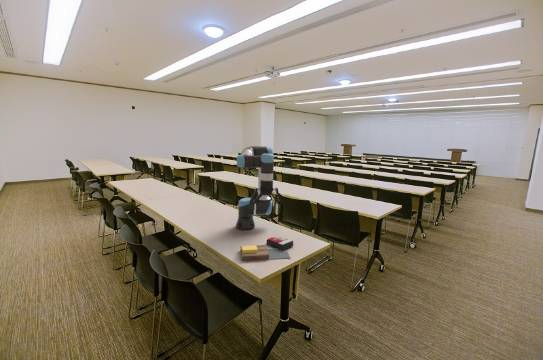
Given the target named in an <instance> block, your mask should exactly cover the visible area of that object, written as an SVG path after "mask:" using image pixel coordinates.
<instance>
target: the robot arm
mask: <svg viewBox="0 0 543 360" xmlns="http://www.w3.org/2000/svg"><path fill="white" fill-rule="evenodd" d="M274 165H275V155H274V150H273V148H272V146H268V145H267V146H262V145H261V146H258V145H257V146H256V145H255V146H254V145H252V146H247V147H245V148H243V149H242V150H241V151H240V154H238V155H237V156H236V166H237V167H238V168H242V169H243V168H254V169H255V168H258V178H257V179H258V183H257V186H258V187H255V188H254V192H253V193H252V196H251V197H244V198H241V199H240V200H238V205H237V206H238V212H237V213H238V215H237V216H238V217H237V221H236V223H235V228H236V229H238V230H241V231H251V230H253V229H255V228H256V223H255V220H254V216H256V215H257V216H258V215H259V216H268V215H270V214H271V213H272V208H273V200H275V202H276V203H275V214H276V215H278V214H279V209H280V207H281V204H282V203H284V201H283V198H282V197H281V194H280V193H279V188H278V187H274ZM273 192H275V193H276V195H277V197H276V196H275V195H274V193H273ZM270 196H271V197H272V198H273V200H272V199H271V197H270ZM255 197H256V198H255Z"/></svg>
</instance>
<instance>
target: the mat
mask: <svg viewBox="0 0 543 360" xmlns="http://www.w3.org/2000/svg"><path fill="white" fill-rule="evenodd" d="M267 251H268V253H269V260H271V261H272V260H283V259H284V260H286V259H291V256H290V254H289V252H288V250H287V249H285V250H280V249H278V248H277V247H273V248H267Z"/></svg>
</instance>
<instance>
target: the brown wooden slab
mask: <svg viewBox="0 0 543 360" xmlns="http://www.w3.org/2000/svg"><path fill="white" fill-rule="evenodd" d="M242 246H243V245H241V246H240V256H241V262H250V261H251V262H252V261H255V262H256V261H269V260H270V259H269V253H268V251H267V249H268V248H267V246H266V244H261V245H260V244H259V245H256V246H257V249H258V250H257V253H242Z"/></svg>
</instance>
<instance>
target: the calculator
mask: <svg viewBox="0 0 543 360" xmlns="http://www.w3.org/2000/svg"><path fill="white" fill-rule="evenodd" d="M266 245H269V246H272V247H273V248H278V249H280V250H285V249H286V250H287V249H289V248H291V247H294V240H292V239H289V238H288V237H287V238H286V237H284V236H281V235H275V236H273V237H269V238H267V239H266Z"/></svg>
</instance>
